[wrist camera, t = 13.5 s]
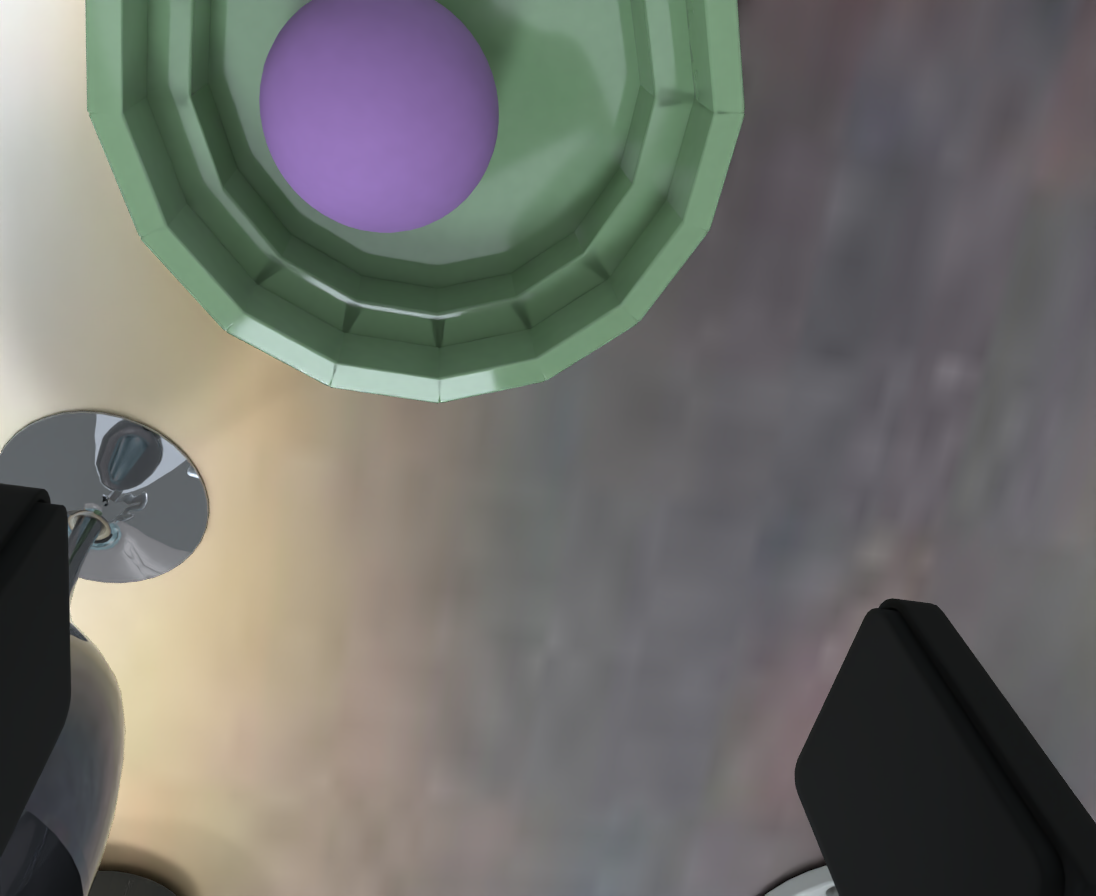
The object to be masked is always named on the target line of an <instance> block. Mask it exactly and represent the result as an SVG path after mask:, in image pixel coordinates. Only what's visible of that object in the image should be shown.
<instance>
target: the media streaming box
mask: <svg viewBox="0 0 1096 896" xmlns="http://www.w3.org/2000/svg"><path fill="white" fill-rule="evenodd" d="M89 896H176V895H175V894H174V893H173V892H172V891H170V890H169V889H167V888H166V887H164V886H162V885H161V884H159V883H157V882H155V881H152V880H150V879H147V878H144V877H141V876H138V875H134V874H130V873H125V872H118V871H98V872H97V875H96V878H95V880H94V883H93V886H92V889H91V891H90V894H89Z"/></svg>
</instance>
